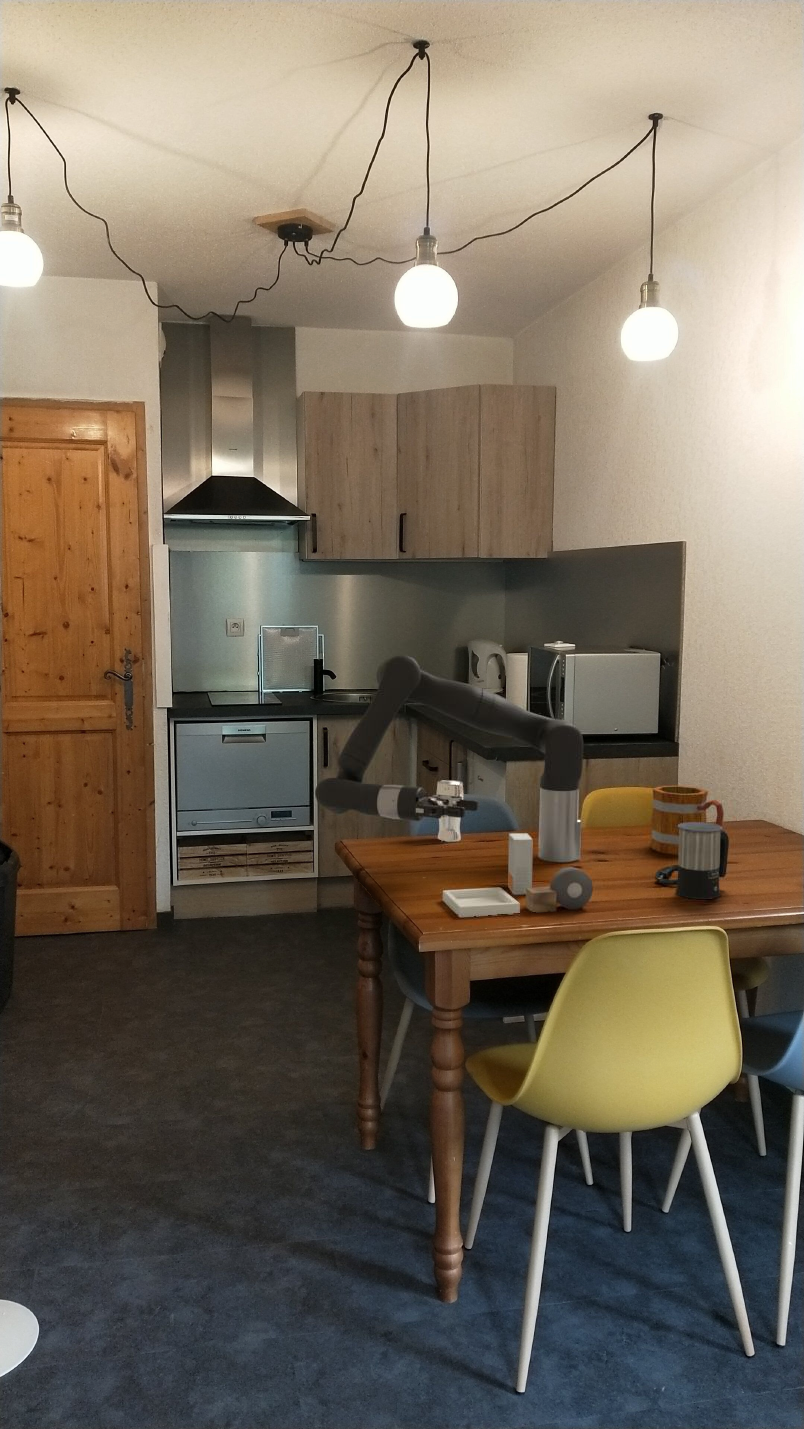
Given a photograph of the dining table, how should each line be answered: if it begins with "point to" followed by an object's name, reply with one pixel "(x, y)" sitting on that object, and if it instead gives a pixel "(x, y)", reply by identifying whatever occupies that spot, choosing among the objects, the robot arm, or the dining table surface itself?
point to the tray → (480, 902)
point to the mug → (678, 814)
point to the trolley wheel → (572, 887)
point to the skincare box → (520, 863)
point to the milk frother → (698, 861)
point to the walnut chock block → (541, 899)
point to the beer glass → (447, 825)
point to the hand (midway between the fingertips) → (471, 809)
